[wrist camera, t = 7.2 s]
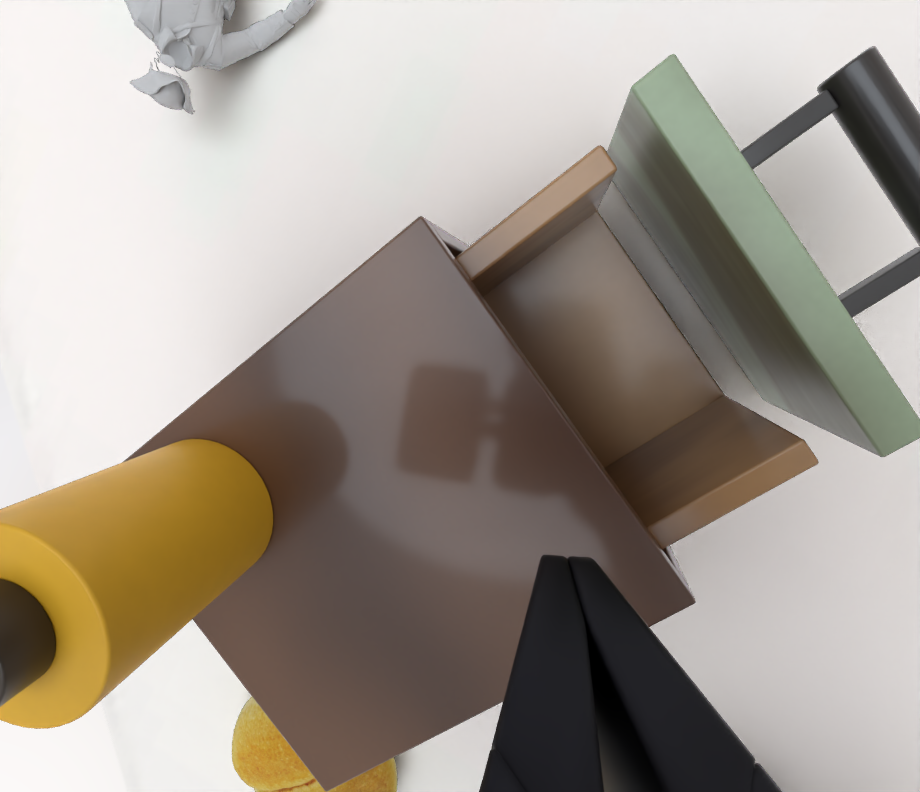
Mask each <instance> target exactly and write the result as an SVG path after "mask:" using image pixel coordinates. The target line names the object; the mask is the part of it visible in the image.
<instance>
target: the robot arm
mask: <svg viewBox="0 0 920 792" xmlns="http://www.w3.org/2000/svg"><path fill="white" fill-rule="evenodd" d="M754 763H755V759H754V757H753V755H752V754H751V753H750V752H749V750H748V749H747V748H746V747H745V746H744V744H743V743H742V742H741V741H740V739H739V738H738V737H737V736H736V734H735V733H734V732H733V731H732V729H731V728H730V727H729V726H728V724H727V723H726V722H725V721H724V720H723V718H722V717H721V716H720V715H719V713H718V712H717V711H716V710H715V708H714V707H713V706H712V705H711V703H710V702H709V701H708V700H707V698H706V697H705V696H704V695H703V694H702V692H701V691H700V690H699V689H698V687H697V686H696V685H695V684H694V682H693V681H692V680H691V679H690V677H689V676H688V675H687V674H686V672H685V671H684V670H683V669H682V668H681V666H680V665H679V664H678V663H677V661H676V660H675V659H674V658H673V656H672V655H671V654H670V653H669V651H668V650H667V649H666V648H665V646H664V645H663V644H662V643H661V642H660V640H659V639H658V638H657V637H656V635H655V634H654V633H653V632H652V630H651V629H650V628H649V627H648V625H647V624H646V623H645V622H644V620H643V619H642V618H641V617H640V616H639V614H638V613H637V612H636V611H635V609H634V608H633V607H632V606H631V604H630V603H629V602H628V601H627V599H626V598H625V597H624V596H623V594H622V593H621V592H620V591H619V590H618V588H617V587H616V586H615V585H614V583H613V582H612V581H611V580H610V578H609V577H608V576H607V575H606V573H605V572H604V571H603V570H602V568H601V567H600V566H599V565H598V563H597V562H596V561H595V560H594V559H592V558H590V557H577V556H570V557H568V558H566V557H564V556H559V555H543V556H542V557H541V559H540V562H539V566H538V570H537V574H536V578H535V582H534V585H533V589H532V593H531V597H530V601H529V605H528V608H527V612H526V616H525V620H524V624H523V628H522V632H521V635H520V639H519V643H518V647H517V651H516V655H515V658H514V662H513V666H512V670H511V674H510V678H509V682H508V685H507V689H506V693H505V697H504V701H503V705H502V708H501V712H500V716H499V720H498V724H497V728H496V732H495V735H494V739H493V743H492V749H491V751H490V753H489V757H488V761H487V765H486V769H485V773H484V776H483V780H482V784H481V787H480V790H479V792H782V791H781V790H780V788H779V787H778V786H777V785H776V784H775V782H774V781H773V780H772V779H771V777H770V776H769V775H768V774H767V772H766V771H765V770H764V769H763V767H762V766H761V765H760V764H758V763H755V764H754Z"/></svg>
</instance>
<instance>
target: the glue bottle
mask: <svg viewBox="0 0 920 792" xmlns="http://www.w3.org/2000/svg"><path fill="white" fill-rule="evenodd" d="M272 528H273V509H272V503H271V499H270V496H269V493H268V490H267V488H266V486H265V484H264V482H263V480H262V478H261V477H260V475H259V474H258V472H257V471H256V470H255V469H254V467H253V466H252V465H251V464H250V463H249V462H248V461H247V460H246V459H245V458H244V457H243V456H241V455H240V454H239V453H237V452H236V451H234V450H232V449H231V448H229V447H227V446H225V445H222V444H220V443H217V442H213V441H210V440H203V439H188V440H182V441H179V442H175V443H173V444H170V445H167V446H165V447H162V448H159V449H157V450H154V451H152V452H149V453H146V454H144V455H141V456H139V457H136V458H133V459H131V460H128V461H125V462H123V463H120V464H118V465H115V466H112V467H110V468H107V469H104V470H102V471H99V472H97V473H94V474H91V475H89V476H86V477H84V478H81V479H78V480H76V481H73V482H70V483H68V484H65V485H63V486H60V487H57V488H55V489H52V490H49V491H47V492H44V493H42V494H39V495H36V496H34V497H31V498H29V499H26V500H23V501H21V502H18V503H15V504H13V505H10V506H8V507H5V508H2V509H0V720H2V721H5V722H8V723H10V724H13V725H17V726H21V727H27V728H36V729H38V728H39V729H40V728H53V727H58V726H62V725H65V724H67V723H70V722H72V721H75V720H76V719H78V718H80V717H82V716H83V715H84V714H86V713H87V712H88V711H89V710H91V709H92V708H93V707H94V706H95V705H96V704H97V703H99V702H100V701H101V700H102V699H103V698H104V697H105V696H106V695H108V694H109V693H110V692H111V691H112V690H113V689H114V688H115V687H116V686H118V685H119V684H120V683H121V682H122V681H123V680H124V679H125V678H127V677H128V676H129V675H130V674H131V673H132V672H133V671H134V670H136V669H137V668H138V667H139V666H140V665H141V664H142V663H143V662H145V661H146V660H147V659H148V658H149V657H150V656H151V655H152V654H154V653H155V652H156V651H157V650H158V649H159V648H160V647H161V646H163V645H164V644H165V643H166V642H167V641H168V640H169V639H170V638H172V637H173V636H174V635H175V634H176V633H177V632H178V631H179V630H180V629H182V628H183V627H184V626H185V625H186V624H187V623H188V622H189V621H191V620H192V619H193V618H194V617H195V616H196V615H197V614H198V613H200V612H201V611H202V610H203V609H204V608H205V607H206V606H207V605H209V604H210V603H211V602H212V601H213V600H214V599H215V598H216V597H218V596H219V595H220V594H221V593H222V592H223V591H224V590H225V589H227V588H228V587H229V586H230V585H231V584H232V583H233V582H234V581H236V580H237V579H238V578H239V577H240V576H241V575H242V574H243V573H244V572H246V571H247V570H248V569H249V568H250V567H251V566H252V565H253V564H255V563H256V562H257V561H258V559H259V558H260V557H261V556H262V554H263V553H264V551H265V550H266V548H267V546H268V543H269V541H270V537H271V534H272Z"/></svg>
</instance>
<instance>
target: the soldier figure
mask: <svg viewBox="0 0 920 792" xmlns="http://www.w3.org/2000/svg"><path fill="white" fill-rule="evenodd" d="M124 1H125V2H126V4H127V7H128V9H129V11H130V13H131V16H132V19H133V20H134V24H135V26H136V27H138V28H139V29H140V30H141V31H142V32H143V33H144V34H145V35H146V36H147V37H148V38H149V39H151V40H152V41H153V42H154V43H155V45H156V46H157V48H158V49H159V50H160V53H161V55H160V61H161V62H162V63H163V64H164V65H166V66H169V67H170V68H171V67H173V66H175V67H177V68H179V69H181V70H183V71H189V70H191V69H192V68H193V67H198V66H204V67H205V68H209V69H214V70H218V71H220V70H221V69H223V68H225V67H227V66H229V65H231V64H233V63H234V64H235V63H236V61H239V60H241V59H244V58H247V57H249V56H250V55H251V54H254V53H257V52H258V51H263V49H266V48H267V47H268V46H269V45H270V44H272V43H274V42H275V41H277V40H278V39H280V38H281V37H282V36H283V35H284V34H285V33H287V31H288V30H289V29H291V28H293V27H294V23H295V22H297V21H298V20H299V19H300V18H301V17H302V16H304V15H306V14H307V13H308V11H309V10H310V9H311V8H312V6H313V5H314V4H315V2H316V0H292V1H291V2H290V3H289V5H288V7H287V9H286V10H284V11H283V10H279V11H278V12H276V13H275V14H273V15H271V16H269V17H267V18H266V19H265V20H262V21H258V22H256V23H254V24H252V25H251V26H250V27H249V28H247V29H244V30H243V31H239V32H230V33H228V34H222V33H223V23H224V20H225V19H227V20H228V21H230V19H231V16H232V14H233V11H234V9H235V7H236V5H235V0H124ZM157 52H158V51H157ZM157 52H156V53H157ZM158 53H159V52H158ZM160 53H159V54H160ZM157 55H158V54H157ZM158 57H159V55H158ZM155 59H156V58H154V60H155ZM156 60H157V59H156ZM158 61H159V60H158ZM150 63H151V62H150ZM155 63H156V61H155ZM156 66H157V63H156ZM157 69H158V67H157ZM174 69H175V68H174ZM175 70H176V69H175ZM176 72H177V71H176ZM177 73H178V72H177ZM179 76H180V75H179ZM180 77H181V76H180ZM180 77H178V76H175V75H173V74H169V73H166V72H162V71H159V69H158V71H155V70H153V69H152V63H151V66H150V69H149V73H147V74H146V75H144V76H143V77H141V78H139V79H136V80H132V81H130V83H131V84H132V85H133V86H134V87H135V88H136V89H137V90H139V91H141V92H143V93H145V94H148V95H149V96H151V97H152V98H153V99H154V100H155V101H156V102H158V103H159V104H161V105H163V106H165V107H167V108H170V109H176V110H181V109H184V110H185V111H186V112H188V113H190V114H193V112H195V111H194V110H193V108H192V104H191V100H190V88H189V86H188V84H187V82H186V81H185V80H184V79H182V78H180Z"/></svg>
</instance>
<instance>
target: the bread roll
mask: <svg viewBox="0 0 920 792" xmlns="http://www.w3.org/2000/svg"><path fill="white" fill-rule="evenodd" d="M232 761H233V765H234V769H235V770H236V772H237V773H238V775H239V776H240V778H241V779H242V780H243V781H244V782H245V783H246V784H247V785H248V786H250V787H253V788H254V790H255V792H326V791H325V790H324V789H323V788H322V787H321V785H320V784H319V783H318V781H317V780H316V779H315V777H314V776H313V775H312V774H311V772H310V771H309V770H308V768H307V767H306V766H305V764H304V763H303V762H302V761H301V759H300V758H299V757H298V755H297V754H296V753H295V751H294V750H293V749H292V748H291V746H290V745H289V744H288V742H287V741H286V740H285V738H284V737H283V736H282V735H281V733H280V732H279V731H278V729H277V728H276V727H275V726H274V724H273V723H272V722H271V720H270V719H269V718H268V716H267V715H266V714H265V713H264V711H263V710H262V709H261V707H260V706H259V705H258V703H257V702H256V701H255V700H254V698H253V697H251V698H250V699H249V700H248V701H247V702H246V704H245V705H244V707H243V709H242V710H241V712H240V715H239V717H238V720H237V722H236V725H235V729H234V734H233V741H232ZM396 791H397V770H396V763H395V759H394V758H392V759H390V760H388V761H386V762H384V763H382V764H380V765H378V766H376V767H374V768H372V769H370V770H368V771H367V772H365V773H363V774H361V775H359V776H357V777H355V778H353V779H351V780H349V781H347V782H345V783H343V784H341V785H339V786H337V787H335V788H333V789H331V790H329V791H327V792H396Z"/></svg>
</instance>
